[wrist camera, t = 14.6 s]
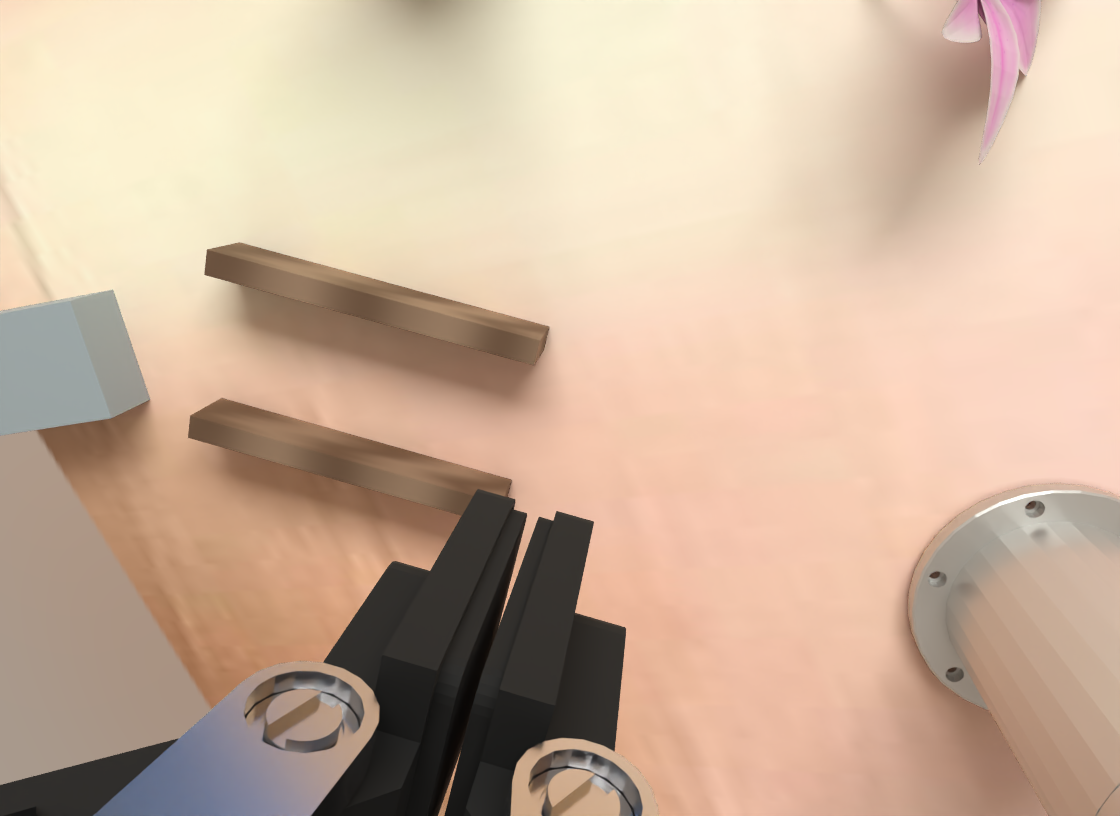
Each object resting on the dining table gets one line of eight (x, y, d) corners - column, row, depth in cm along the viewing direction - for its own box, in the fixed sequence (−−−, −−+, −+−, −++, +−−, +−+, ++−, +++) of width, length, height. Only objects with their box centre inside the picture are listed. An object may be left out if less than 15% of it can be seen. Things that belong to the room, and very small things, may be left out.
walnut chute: (549, 326, 40) (539, 340, 37) (506, 500, 43) (494, 525, 40) (239, 242, 41) (207, 249, 38) (219, 418, 44) (188, 437, 41)
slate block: (116, 288, 43) (70, 300, 39) (153, 398, 44) (111, 418, 41) (-15, 313, 44) (-70, 326, 41) (26, 418, 46) (-24, 439, 43)
